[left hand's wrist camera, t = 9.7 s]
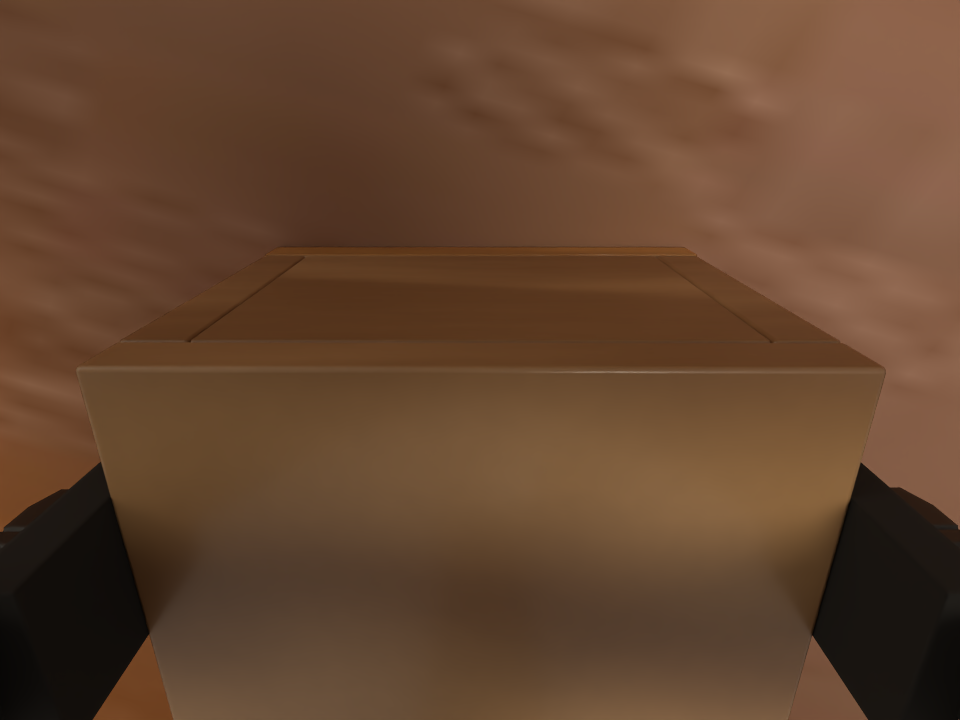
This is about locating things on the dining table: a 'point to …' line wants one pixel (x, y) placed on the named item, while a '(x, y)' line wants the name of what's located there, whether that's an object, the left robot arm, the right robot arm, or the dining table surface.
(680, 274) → the brown wooden block
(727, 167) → the dining table surface
